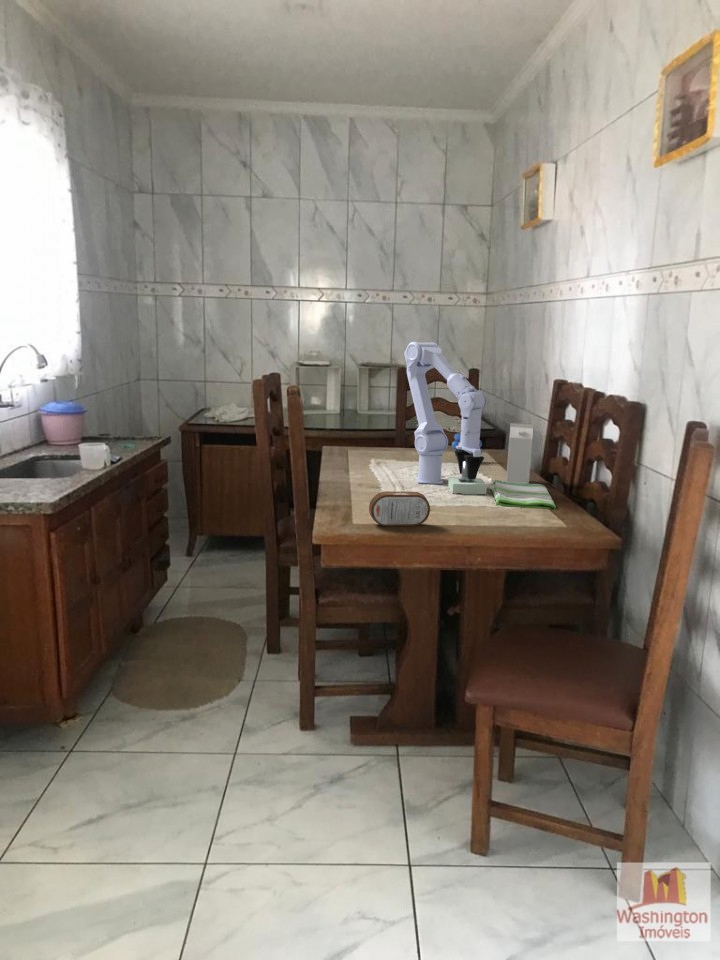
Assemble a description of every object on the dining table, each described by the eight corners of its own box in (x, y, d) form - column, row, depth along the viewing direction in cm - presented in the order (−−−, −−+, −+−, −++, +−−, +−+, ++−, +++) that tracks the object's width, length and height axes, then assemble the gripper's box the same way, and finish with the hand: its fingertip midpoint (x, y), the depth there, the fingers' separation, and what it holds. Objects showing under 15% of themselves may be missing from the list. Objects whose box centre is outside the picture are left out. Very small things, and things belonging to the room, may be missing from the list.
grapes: (454, 464, 264) (456, 431, 261) (449, 461, 270) (450, 429, 268) (484, 464, 265) (487, 431, 263) (479, 461, 272) (481, 429, 270)
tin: (427, 523, 182) (429, 490, 180) (430, 526, 179) (432, 493, 177) (368, 524, 179) (369, 490, 178) (370, 527, 176) (371, 493, 175)
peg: (458, 489, 222) (460, 460, 220) (468, 489, 223) (469, 460, 221) (463, 492, 219) (465, 462, 217) (473, 491, 220) (475, 462, 218)
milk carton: (506, 479, 240) (510, 422, 236) (528, 480, 239) (533, 423, 235) (506, 483, 233) (510, 424, 229) (528, 485, 232) (533, 426, 228)
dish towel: (546, 493, 223) (547, 482, 223) (557, 511, 201) (558, 498, 200) (490, 490, 225) (490, 479, 224) (494, 507, 203) (495, 495, 202)
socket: (447, 486, 225) (448, 477, 225) (480, 487, 226) (480, 478, 225) (452, 493, 216) (453, 483, 215) (486, 494, 216) (486, 484, 215)
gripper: (450, 428, 223) (447, 471, 226) (465, 435, 209) (462, 481, 212) (471, 428, 225) (469, 471, 227) (488, 435, 211) (485, 481, 213)
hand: (467, 476), depth 220 cm, fingers open, 7 cm apart
